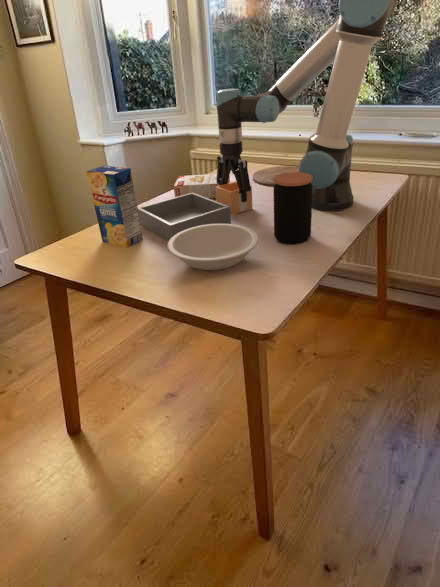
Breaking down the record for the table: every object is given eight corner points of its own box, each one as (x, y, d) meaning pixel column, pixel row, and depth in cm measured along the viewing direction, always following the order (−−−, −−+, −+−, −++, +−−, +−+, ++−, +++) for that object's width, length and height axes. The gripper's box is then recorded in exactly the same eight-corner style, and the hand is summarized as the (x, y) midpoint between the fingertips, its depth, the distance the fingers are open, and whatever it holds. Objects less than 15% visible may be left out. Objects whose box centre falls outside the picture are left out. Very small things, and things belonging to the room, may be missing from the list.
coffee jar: (317, 235, 127) (320, 174, 118) (297, 248, 121) (298, 185, 111) (287, 228, 134) (288, 170, 125) (266, 240, 127) (265, 179, 118)
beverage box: (128, 247, 130) (113, 174, 119) (102, 241, 135) (86, 171, 124) (143, 239, 135) (130, 168, 123) (117, 233, 140) (103, 165, 129)
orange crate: (252, 208, 152) (251, 186, 148) (232, 215, 147) (230, 192, 143) (236, 202, 158) (235, 181, 154) (216, 209, 154) (215, 187, 150)
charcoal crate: (231, 224, 140) (229, 206, 137) (172, 244, 130) (170, 225, 126) (194, 208, 156) (192, 192, 153) (139, 225, 145) (136, 208, 142)
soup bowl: (179, 245, 129) (176, 224, 125) (260, 243, 126) (259, 221, 122) (162, 284, 108) (158, 261, 105) (258, 283, 105) (257, 259, 102)
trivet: (244, 176, 190) (244, 171, 189) (296, 167, 195) (296, 163, 194) (266, 191, 169) (266, 186, 168) (323, 181, 174) (324, 176, 174)
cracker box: (228, 181, 161) (173, 185, 162) (229, 197, 164) (175, 201, 165) (229, 171, 173) (177, 175, 175) (230, 186, 176) (179, 190, 178)
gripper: (202, 139, 147) (208, 203, 158) (242, 147, 131) (245, 217, 143) (220, 135, 151) (224, 198, 162) (261, 143, 135) (262, 211, 146)
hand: (234, 207), depth 152 cm, fingers closed on orange crate, 9 cm apart
